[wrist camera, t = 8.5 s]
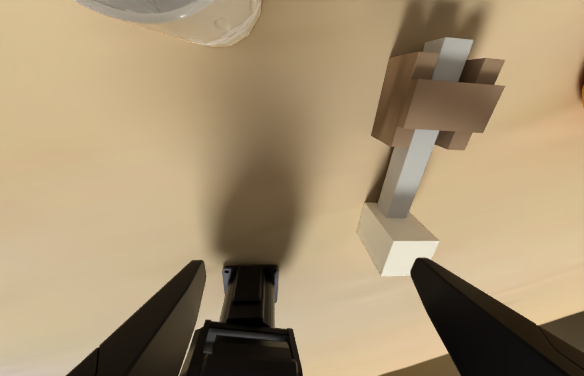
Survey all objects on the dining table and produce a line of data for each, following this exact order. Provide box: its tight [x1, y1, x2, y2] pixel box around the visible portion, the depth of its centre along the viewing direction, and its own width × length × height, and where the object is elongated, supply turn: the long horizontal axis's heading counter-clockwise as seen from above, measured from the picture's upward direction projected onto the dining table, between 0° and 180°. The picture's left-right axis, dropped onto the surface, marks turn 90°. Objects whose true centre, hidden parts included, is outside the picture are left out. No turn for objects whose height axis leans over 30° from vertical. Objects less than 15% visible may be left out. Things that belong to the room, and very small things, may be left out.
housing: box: [371, 52, 505, 150], centre depth 14 cm, size 14×7×4 cm, turn 176°
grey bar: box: [357, 37, 474, 276], centre depth 17 cm, size 18×4×6 cm, turn 176°
